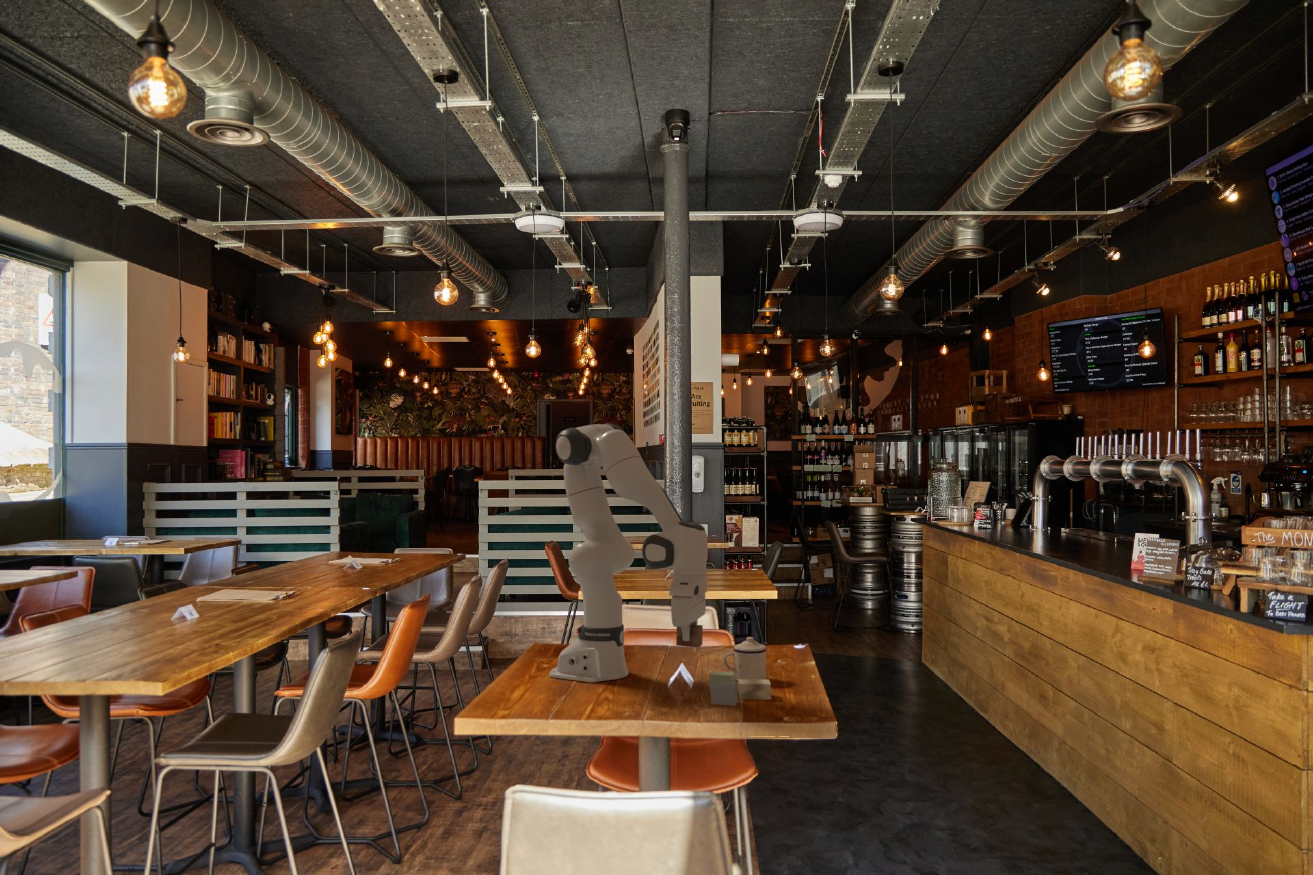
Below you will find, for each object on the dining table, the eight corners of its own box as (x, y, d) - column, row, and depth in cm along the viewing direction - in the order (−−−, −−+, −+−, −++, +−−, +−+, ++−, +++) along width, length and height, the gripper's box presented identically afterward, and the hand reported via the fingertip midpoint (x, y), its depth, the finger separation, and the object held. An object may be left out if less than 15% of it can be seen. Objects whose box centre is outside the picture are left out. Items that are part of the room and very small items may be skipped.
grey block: (711, 704, 214) (711, 684, 214) (714, 700, 217) (714, 680, 217) (734, 706, 212) (734, 685, 212) (737, 702, 215) (737, 682, 216)
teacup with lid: (767, 676, 242) (767, 634, 242) (766, 684, 233) (765, 641, 233) (725, 674, 244) (724, 633, 244) (722, 682, 235) (721, 640, 235)
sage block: (709, 693, 224) (709, 674, 225) (712, 690, 228) (712, 671, 228) (732, 695, 223) (731, 675, 223) (734, 691, 226) (734, 672, 226)
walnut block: (676, 645, 221) (676, 625, 221) (680, 642, 224) (680, 623, 224) (698, 647, 219) (699, 627, 219) (702, 644, 222) (702, 625, 222)
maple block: (739, 700, 218) (739, 684, 218) (738, 694, 223) (738, 679, 223) (771, 700, 218) (770, 684, 218) (769, 694, 223) (769, 679, 223)
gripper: (689, 578, 233) (688, 630, 232) (667, 589, 213) (666, 645, 213) (711, 580, 231) (710, 631, 230) (691, 591, 211) (690, 647, 211)
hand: (689, 638), depth 221 cm, fingers closed on walnut block, 3 cm apart
